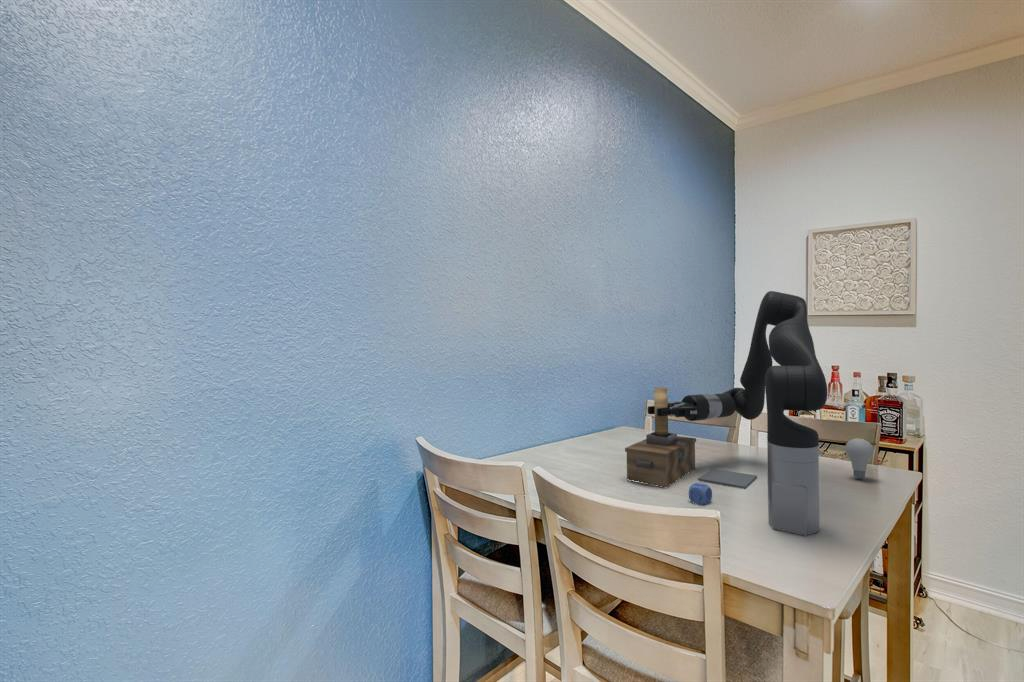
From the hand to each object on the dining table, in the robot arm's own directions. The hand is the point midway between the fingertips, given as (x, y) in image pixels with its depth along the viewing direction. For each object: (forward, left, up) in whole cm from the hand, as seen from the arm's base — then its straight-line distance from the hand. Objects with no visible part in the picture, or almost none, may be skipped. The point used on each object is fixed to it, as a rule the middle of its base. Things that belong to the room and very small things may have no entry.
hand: (653, 411), depth 136 cm
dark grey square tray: (+3, -1, -9) cm, 10 cm away
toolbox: (+3, -1, -18) cm, 18 cm away
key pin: (+2, -1, -9) cm, 9 cm away
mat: (+9, -17, -18) cm, 27 cm away
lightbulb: (+29, -45, -19) cm, 57 cm away
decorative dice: (-13, -17, -19) cm, 29 cm away
